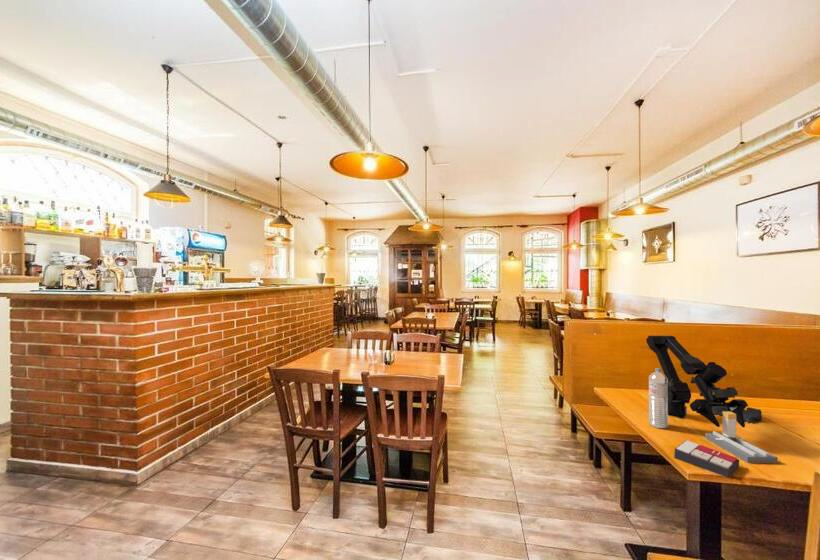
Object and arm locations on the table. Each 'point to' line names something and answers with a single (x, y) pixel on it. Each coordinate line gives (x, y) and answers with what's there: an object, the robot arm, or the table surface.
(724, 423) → the fader tab
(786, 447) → the table surface
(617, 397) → the table surface
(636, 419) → the table surface
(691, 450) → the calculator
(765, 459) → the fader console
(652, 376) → the water bottle
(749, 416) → the dark slate chunk
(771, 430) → the table surface
